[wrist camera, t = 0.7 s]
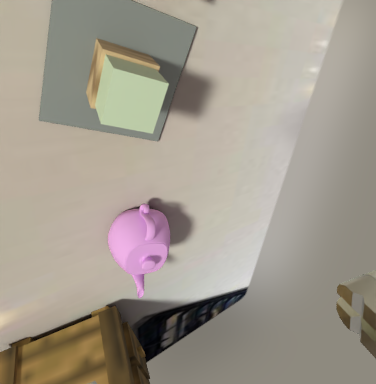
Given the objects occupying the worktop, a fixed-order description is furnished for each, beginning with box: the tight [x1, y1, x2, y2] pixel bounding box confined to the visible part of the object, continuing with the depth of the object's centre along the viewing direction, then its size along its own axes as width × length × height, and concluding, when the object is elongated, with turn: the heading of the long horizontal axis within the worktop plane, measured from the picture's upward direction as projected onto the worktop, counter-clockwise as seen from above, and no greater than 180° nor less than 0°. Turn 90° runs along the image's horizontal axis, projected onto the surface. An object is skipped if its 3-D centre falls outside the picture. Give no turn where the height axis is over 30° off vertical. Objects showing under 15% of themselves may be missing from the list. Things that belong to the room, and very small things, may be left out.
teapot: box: [108, 204, 170, 298], centre depth 64 cm, size 20×13×12 cm, turn 166°
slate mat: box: [39, 0, 197, 141], centre depth 46 cm, size 20×20×1 cm
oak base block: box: [86, 38, 160, 109], centre depth 44 cm, size 8×8×6 cm
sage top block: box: [95, 54, 169, 134], centre depth 40 cm, size 7×7×6 cm
